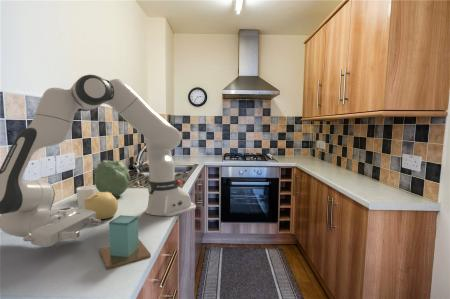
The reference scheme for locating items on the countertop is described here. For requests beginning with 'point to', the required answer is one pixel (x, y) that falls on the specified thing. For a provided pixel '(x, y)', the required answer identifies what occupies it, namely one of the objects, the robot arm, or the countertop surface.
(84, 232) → the countertop surface
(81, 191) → the white cup
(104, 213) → the sculpture
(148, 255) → the brown square base plate
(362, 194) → the countertop surface
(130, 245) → the teal tall prism
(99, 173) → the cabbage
